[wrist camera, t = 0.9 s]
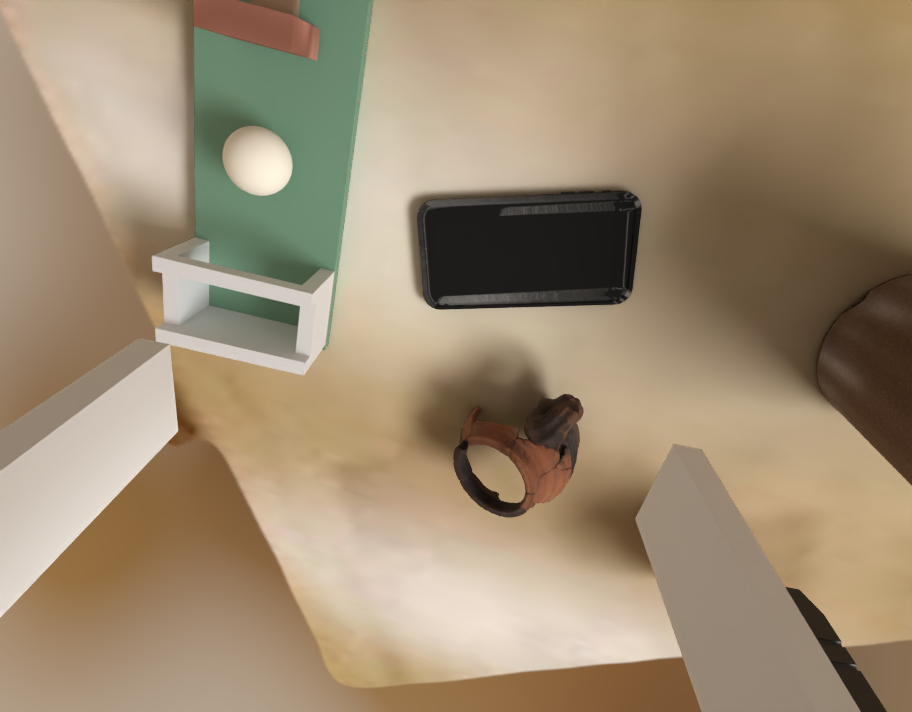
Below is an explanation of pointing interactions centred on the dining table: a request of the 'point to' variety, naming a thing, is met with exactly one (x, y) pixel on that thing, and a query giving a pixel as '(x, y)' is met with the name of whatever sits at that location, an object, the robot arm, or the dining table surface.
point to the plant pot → (874, 370)
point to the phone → (529, 250)
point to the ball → (257, 160)
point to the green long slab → (273, 216)
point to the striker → (260, 24)
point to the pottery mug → (525, 453)
